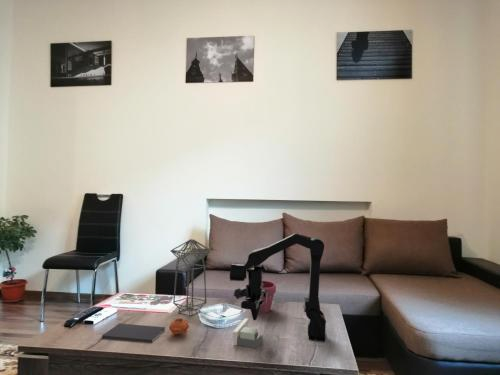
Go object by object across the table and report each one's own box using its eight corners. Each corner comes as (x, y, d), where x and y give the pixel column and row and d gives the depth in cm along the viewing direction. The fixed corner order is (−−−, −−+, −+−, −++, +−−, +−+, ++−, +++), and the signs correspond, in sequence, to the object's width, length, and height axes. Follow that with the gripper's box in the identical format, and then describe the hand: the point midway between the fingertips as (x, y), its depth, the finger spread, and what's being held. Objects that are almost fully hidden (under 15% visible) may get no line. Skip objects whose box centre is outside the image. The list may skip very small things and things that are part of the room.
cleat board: (268, 333, 140) (268, 321, 140) (258, 348, 126) (258, 335, 126) (245, 330, 143) (245, 318, 143) (233, 344, 129) (233, 331, 129)
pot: (192, 330, 142) (191, 315, 140) (184, 342, 135) (183, 327, 133) (175, 327, 144) (174, 313, 143) (166, 339, 137) (164, 324, 135)
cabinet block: (258, 341, 133) (259, 328, 133) (255, 347, 128) (255, 333, 128) (244, 339, 134) (244, 326, 134) (239, 345, 130) (240, 331, 130)
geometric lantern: (166, 313, 163) (168, 239, 165) (190, 305, 176) (191, 237, 177) (190, 319, 154) (191, 241, 156) (213, 311, 167) (214, 239, 168)
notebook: (101, 339, 134) (152, 344, 131) (101, 335, 134) (152, 339, 131) (119, 327, 147) (166, 330, 143) (119, 323, 147) (166, 327, 143)
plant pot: (266, 317, 159) (266, 289, 159) (241, 311, 166) (241, 285, 166) (280, 308, 171) (280, 282, 171) (256, 303, 178) (256, 278, 179)
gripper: (243, 274, 151) (243, 310, 151) (228, 285, 133) (228, 325, 133) (268, 276, 148) (267, 313, 147) (256, 288, 130) (255, 329, 130)
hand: (254, 319), depth 139 cm, fingers closed
